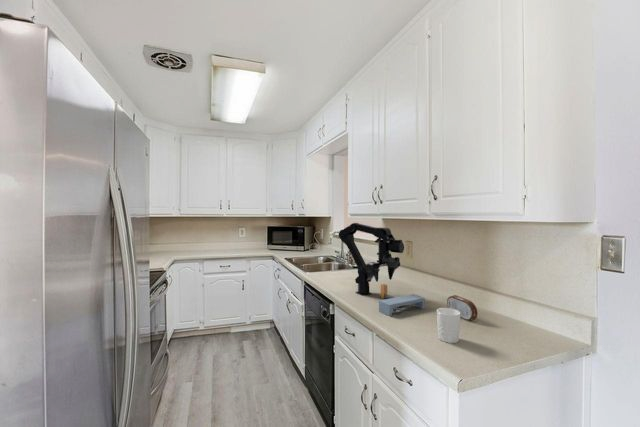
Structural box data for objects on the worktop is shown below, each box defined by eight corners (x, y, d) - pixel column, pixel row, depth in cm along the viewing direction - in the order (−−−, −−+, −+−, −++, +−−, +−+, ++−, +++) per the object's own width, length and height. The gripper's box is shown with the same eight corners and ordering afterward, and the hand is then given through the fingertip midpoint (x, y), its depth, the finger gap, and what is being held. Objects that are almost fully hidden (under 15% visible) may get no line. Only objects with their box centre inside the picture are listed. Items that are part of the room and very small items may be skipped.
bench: (378, 311, 133) (378, 300, 133) (413, 304, 144) (413, 294, 144) (389, 316, 127) (389, 304, 127) (424, 308, 138) (424, 297, 138)
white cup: (431, 336, 106) (431, 309, 106) (447, 333, 110) (447, 306, 110) (449, 345, 99) (449, 316, 99) (465, 341, 102) (465, 313, 102)
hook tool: (373, 298, 153) (373, 285, 153) (384, 296, 157) (384, 283, 156) (394, 307, 139) (394, 292, 139) (405, 305, 143) (405, 290, 143)
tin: (478, 322, 120) (478, 302, 120) (472, 323, 119) (472, 303, 119) (451, 311, 134) (451, 292, 134) (445, 311, 133) (445, 293, 133)
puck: (389, 311, 134) (389, 308, 134) (395, 309, 136) (395, 306, 136) (395, 313, 131) (395, 310, 131) (402, 312, 133) (402, 309, 133)
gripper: (380, 254, 143) (380, 286, 143) (407, 252, 152) (407, 281, 152) (366, 251, 153) (366, 281, 153) (393, 249, 162) (392, 277, 162)
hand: (383, 280), depth 155 cm, fingers open, 9 cm apart
